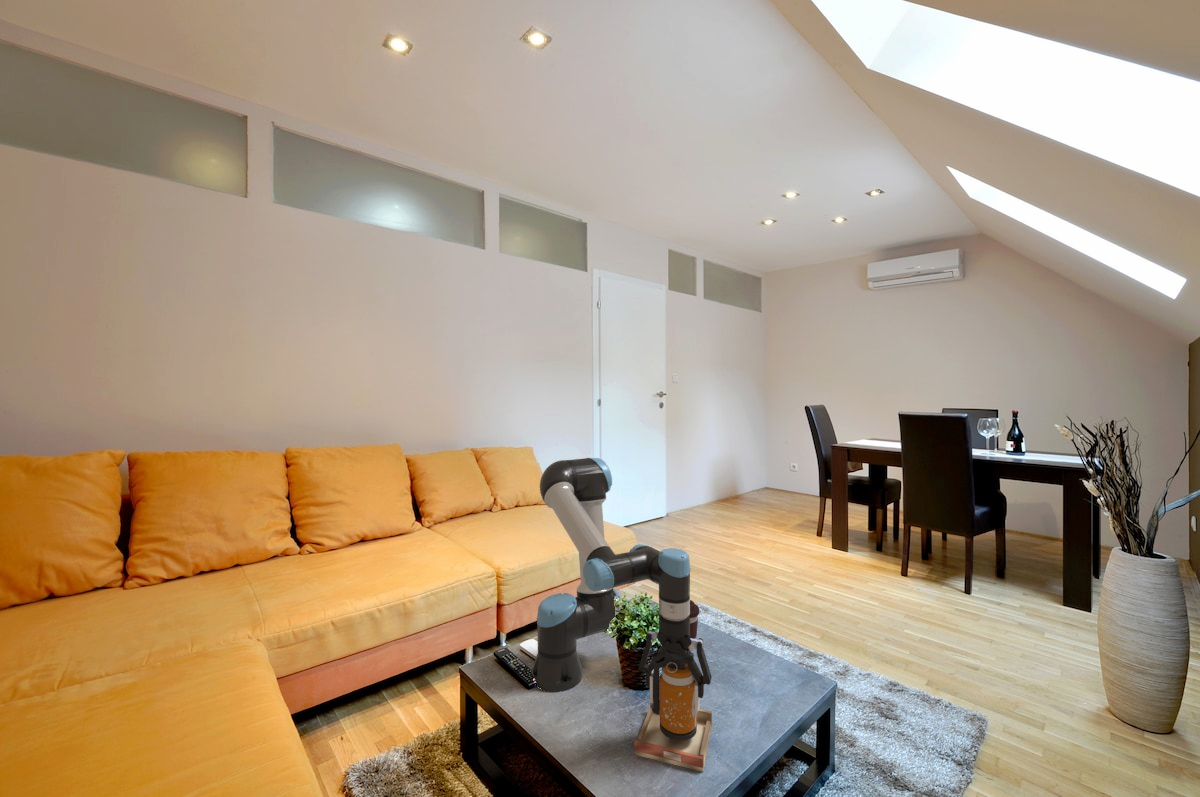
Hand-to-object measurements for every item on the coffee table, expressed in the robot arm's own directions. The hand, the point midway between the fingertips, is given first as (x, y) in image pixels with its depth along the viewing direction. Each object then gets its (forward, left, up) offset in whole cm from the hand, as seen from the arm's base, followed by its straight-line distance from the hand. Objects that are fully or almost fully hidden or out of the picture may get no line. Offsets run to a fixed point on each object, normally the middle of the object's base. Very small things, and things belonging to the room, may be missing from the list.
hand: (674, 704), depth 118 cm
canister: (0, 0, -7) cm, 7 cm away
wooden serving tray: (0, 0, -9) cm, 9 cm away
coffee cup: (-5, +44, -9) cm, 46 cm away
